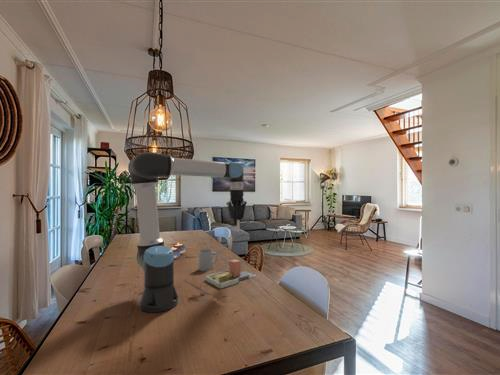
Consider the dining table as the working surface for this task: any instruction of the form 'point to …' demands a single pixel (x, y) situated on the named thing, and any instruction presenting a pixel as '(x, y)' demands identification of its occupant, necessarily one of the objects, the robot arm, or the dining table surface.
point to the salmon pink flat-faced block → (235, 268)
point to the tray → (220, 285)
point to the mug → (206, 259)
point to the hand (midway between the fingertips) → (237, 231)
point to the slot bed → (244, 275)
